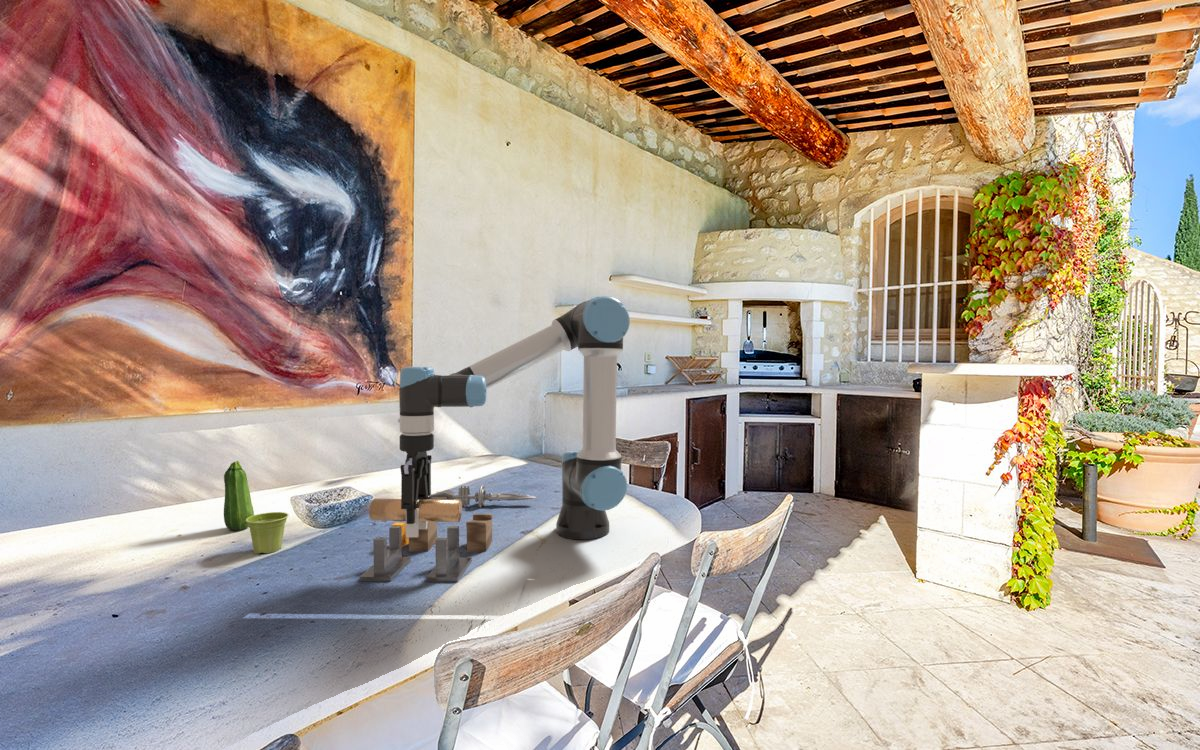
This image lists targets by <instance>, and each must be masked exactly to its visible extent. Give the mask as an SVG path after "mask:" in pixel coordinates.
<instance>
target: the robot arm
mask: <svg viewBox="0 0 1200 750" xmlns="http://www.w3.org/2000/svg"><path fill="white" fill-rule="evenodd" d="M630 324H631V323H630V313H629V312H628V309H627V308H626V306H625V305H624V304H623V303H622V302H621V301H620V300H619V299H617V298H615V297H612V296H607V295H605V296H604V295H603V296H594V297H593V298H591V299H588V300H586V301H583V302H581V303H579V304H577V305H575V306H574V307H573V308H571V309H570V310H568V311H567V312H565V313H564V314H562V315H561V316H559V317H557V318H555V319H553V320H552V321H551V325H549V326H547V327H545V328H543V329H541V330H539V331H537V332H535V333H533V334H531V335H529V336H527V337H525V338H523V339H521V340H518V341H517V342H514V343H513V344H511V345H508V346H506V347H505V348H503V349H500V350H499V351H497V352H495V353H492V354H490V355H489V356H486V357H484V358H483V359H480V360H478V361H477V362H475V363H473V364H470V365H469V366H468V367H465V368H462V369H461V370H459V371H456V372H455V373H454V372H453V373H451V374H448V375H440V374H436V373H435V370H434V367H432V366H404V367H402V369H401V370H400V372H399V386H398V390H399V391H398V392H399V393H398V394H399V395H398V396H399V398H398V399H399V418H398V419H397V422H398V423H399V432H400V433H401V434H400V435H399V450H400V452H402V453H403V452H405V453H406V459H405V463H404V464H401V465H400V468H399V469H400V475H401V477H400V478H401V483H400V484H401V485H400V486H401V488H400V490H401V492H400V494H401V496H400V497H401V498H400V499H401V509H406V521H405V524H406V537H419V529H427V521H419V508H417V500H418V499H431V498H432V497H429V496H431V494H432V480H431V479H432V476H431V475H432V470H431V469H432V468H431V467H432V458H433V457H432V455H429V454H428V453H427V452H430V451H432V450H433V449H434V447H435V446H434V445H435V443H434V441H435V435H434V434H433V433H432V432H434V431H435V414H434V413H435V412H434V411H435V408H459V407H460V408H463V407H465V408H467V407H468V408H473V407H483V406H484V405H485V404H486V403H487V402H486V401H487V390H489V389H490V388H492V387H494V386H495V385H498V384H500V383H502V382H503V381H505V380H507V379H509V378H511V377H513V376H516V375H517V374H520V373H522V372H523V371H526V370H528V368H531V367H533V366H535V365H537V364H539V363H541V362H542V361H544V360H547V359H548V358H551V357H553V356H555V355H556V354H558V353H560V352H562V351H566V352H570V351H572V350H573V349H574V350H575V349H577V350H578V351H579V353H581V354H582V357H583V381H582V382H583V392H582V393H583V395H582V397H583V398H582V400H583V401H582V448H581V450H568V451H565V452H563V454H562V459H561V473H562V474H561V475H562V477H561V483H562V484H561V485H562V487H561V489H562V490H561V495H562V497H561V498H562V499H561V500H562V505H561V507H560V509H559V514H558V518H557V521H556V524H555V527H556V529H555V531H556V534H557V535H558V536H560V537H562V538H566V539H571V540H592V539H597V538H601V537H604V536H606V535H607V534H609V533H610V520H609V518H608V514H607V511H609V510H612V509H614V508H615V507H617V506H619V505H620V503H621V502H623V500H624V498H625V496H626V494H627V491H628V480H627V478H626V475H625V473H624V472H623V471H622V455H621V453H620V452H619V451H618V450H617V445H616V443H617V441H616V440H617V437H616V436H617V386H618V385H617V382H618V381H617V379H618V377H617V376H618V375H617V374H618V370H617V369H618V356H619V355H620V354H621V353H622V352H623V351H624V338H625V336H626V334H627V333H628V332H629V329H630Z"/></svg>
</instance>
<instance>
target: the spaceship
mask: <svg viewBox="0 0 1200 750" xmlns="http://www.w3.org/2000/svg"><path fill="white" fill-rule="evenodd" d="M428 497H432V498H431V499H443V500H461V502H462V506H463V507H462V508H465V507H468V504H469V505H470V502H471V500H474V501H475V503H478V506H479V507H478V508H479V509H482V507H483V506H485V505H486V501H488V502H493V501H497V502H500V501H525V500H527V501H529V500H533V499H537V496H535V495H531V494H521V493H520V494H519V493H518V494H517V493H509V492H507V493H503V492H502V493H500V492H498V493H493V492H489V493H487V492H486V488H485V485H484V484H482V485H481V486H480V487H479V490H478V492H475V494H473V495H472V494H471V492H470V486H467V487H466V486H465V485H462V486H460V487H459V488H458V494H457V495H455V492H454V491H452V490H450V489H446V490H445V489H444V490H442V491H437V492H435V493H431V495H430V496H428ZM464 504H466V505H464Z"/></svg>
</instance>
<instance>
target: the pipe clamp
mask: <svg viewBox="0 0 1200 750" xmlns="http://www.w3.org/2000/svg"><path fill="white" fill-rule="evenodd" d="M391 526H402V549H403V548H404V547H405V546H406V545H409V537H406V522H395V523H393V524H391Z"/></svg>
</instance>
